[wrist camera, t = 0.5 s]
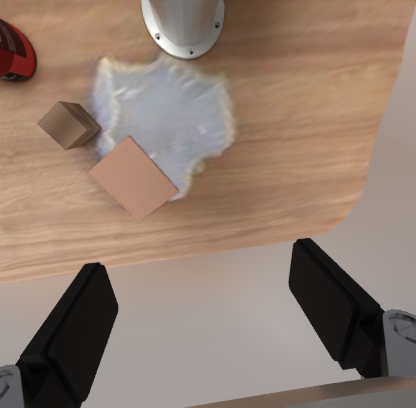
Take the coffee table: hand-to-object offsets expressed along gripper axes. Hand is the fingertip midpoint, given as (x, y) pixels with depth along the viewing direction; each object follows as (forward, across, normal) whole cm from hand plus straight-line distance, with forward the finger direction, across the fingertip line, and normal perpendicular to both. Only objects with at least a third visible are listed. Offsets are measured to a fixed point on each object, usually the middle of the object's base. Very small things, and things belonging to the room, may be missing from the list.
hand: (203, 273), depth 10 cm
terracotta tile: (+33, +12, +4) cm, 35 cm away
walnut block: (+33, +19, -7) cm, 39 cm away
